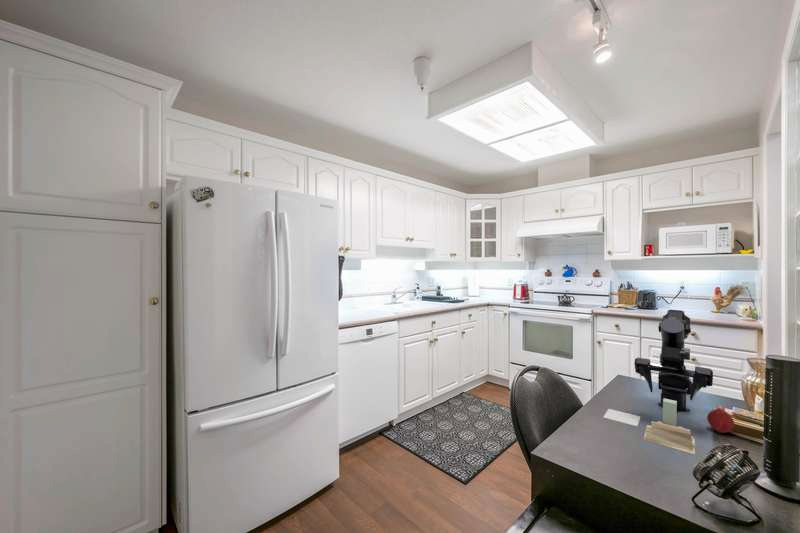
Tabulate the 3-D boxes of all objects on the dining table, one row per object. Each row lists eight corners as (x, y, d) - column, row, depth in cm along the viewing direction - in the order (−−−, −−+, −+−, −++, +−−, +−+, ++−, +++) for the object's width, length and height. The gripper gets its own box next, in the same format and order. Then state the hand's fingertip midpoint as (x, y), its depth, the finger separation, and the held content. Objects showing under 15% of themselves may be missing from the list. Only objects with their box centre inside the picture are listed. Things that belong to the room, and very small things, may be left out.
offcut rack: (647, 426, 104) (647, 410, 104) (694, 438, 96) (694, 422, 96) (643, 441, 94) (643, 424, 95) (694, 456, 87) (695, 437, 87)
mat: (608, 410, 115) (608, 408, 115) (640, 418, 109) (640, 416, 109) (603, 419, 108) (603, 417, 108) (637, 428, 102) (637, 426, 102)
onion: (739, 439, 96) (739, 411, 96) (716, 437, 98) (716, 409, 98) (724, 429, 102) (724, 403, 102) (702, 427, 103) (702, 401, 103)
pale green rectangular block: (663, 432, 99) (663, 398, 99) (676, 435, 97) (676, 401, 97) (662, 435, 97) (662, 401, 97) (676, 439, 95) (676, 404, 95)
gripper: (635, 332, 110) (630, 373, 102) (713, 341, 98) (714, 389, 89) (638, 352, 116) (633, 392, 108) (711, 363, 104) (712, 409, 95)
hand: (670, 395), depth 100 cm, fingers open, 9 cm apart
